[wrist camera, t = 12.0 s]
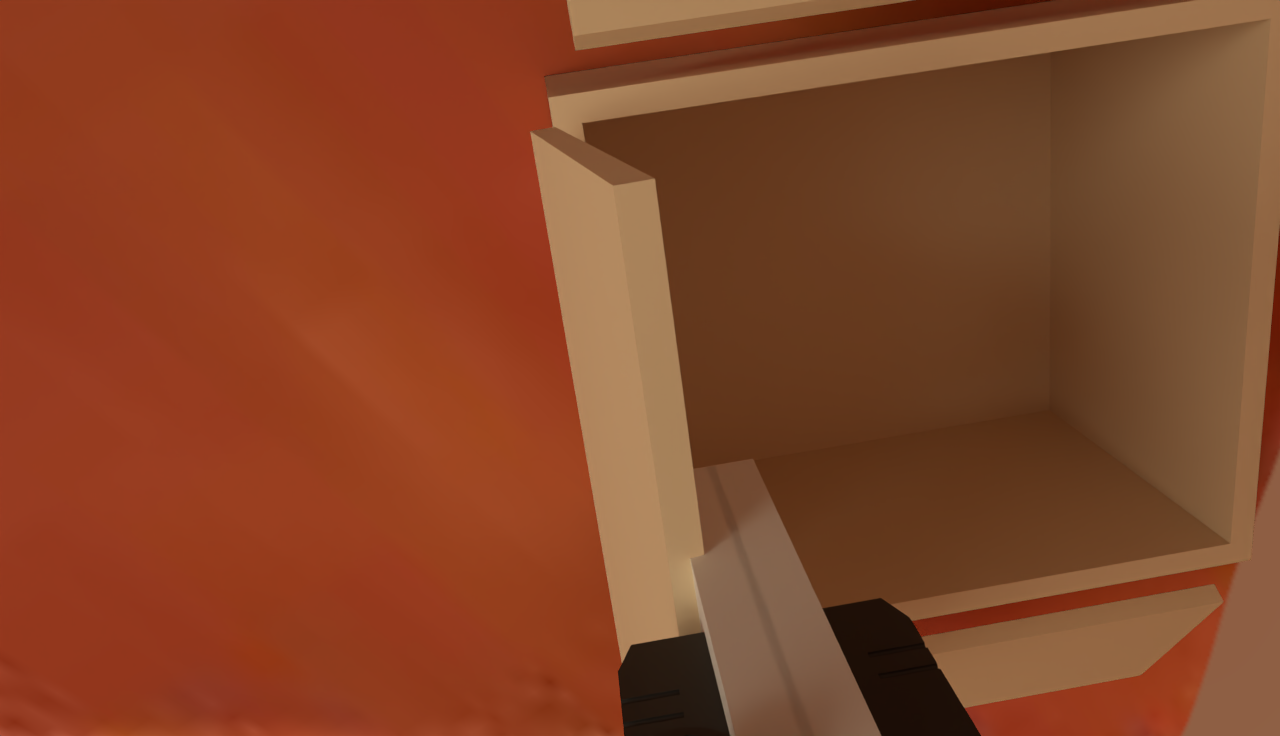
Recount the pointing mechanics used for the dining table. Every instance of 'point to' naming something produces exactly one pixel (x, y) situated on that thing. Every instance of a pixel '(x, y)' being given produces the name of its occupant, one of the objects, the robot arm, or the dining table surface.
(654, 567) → the flap
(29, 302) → the dining table surface
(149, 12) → the dining table surface
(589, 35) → the flap
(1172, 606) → the flap
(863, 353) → the carton
